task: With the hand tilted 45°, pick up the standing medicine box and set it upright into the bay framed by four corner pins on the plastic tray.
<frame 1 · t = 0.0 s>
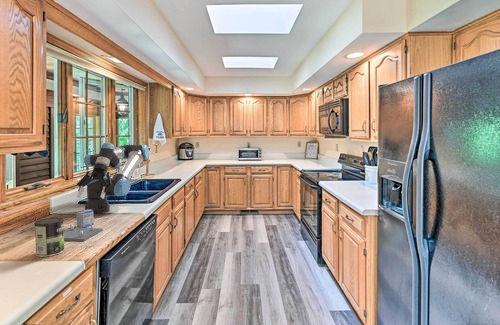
hand: (90, 197, 167), 15 cm above the worktop, tool tilted 35°, fingers open, 13 cm apart
pin tray: (76, 235, 148), on the worktop
coffee can: (50, 252, 126), on the worktop
medicine box: (85, 226, 163), on the worktop
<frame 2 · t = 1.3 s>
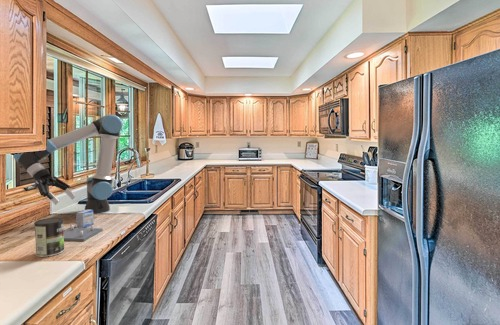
hand: (66, 200, 162), 15 cm above the worktop, tool tilted 45°, fingers open, 13 cm apart
nothing on the worktop moved.
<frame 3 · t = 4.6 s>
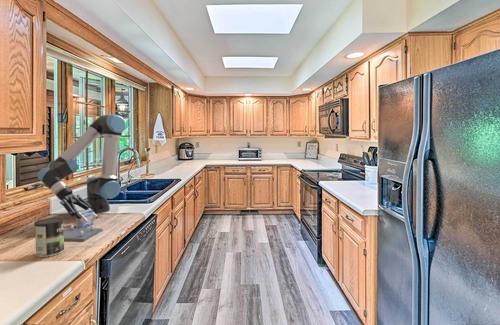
hand: (90, 219, 162), 4 cm above the worktop, tool tilted 45°, fingers closed on medicine box, 8 cm apart
medicine box: (85, 226, 163), on the worktop, touching gripper
everything else where it was.
when the fingers open (7 cm above the worktop, at t = 10.0 s): medicine box drops 2 cm, resting on pin tray.
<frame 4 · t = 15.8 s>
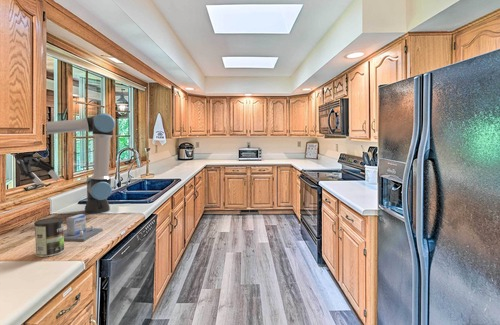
hand: (49, 181, 158), 26 cm above the worktop, tool tilted 45°, fingers open, 13 cm apart
medicine box: (76, 233, 148), point 1 cm above the worktop, touching pin tray
everything else where it was.
at the end: medicine box 0.4 cm off-centre on the pin tray, point 1.0 cm above the pin tray's base; medicine box tilted 0°; the gripper is holding nothing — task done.
